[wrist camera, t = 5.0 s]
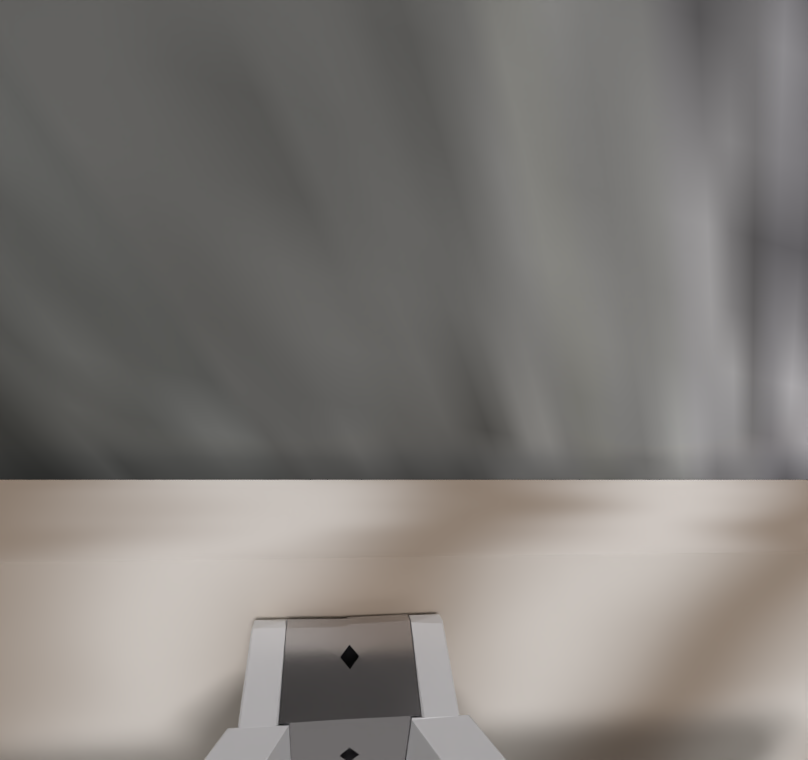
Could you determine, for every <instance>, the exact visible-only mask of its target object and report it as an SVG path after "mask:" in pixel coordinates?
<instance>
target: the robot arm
mask: <svg viewBox="0 0 808 760" xmlns="http://www.w3.org/2000/svg"><path fill="white" fill-rule="evenodd" d="M204 760H506V759H505V758H504V757H503V755H502V754H501V753H500V752H499V750H498V749H497V748H496V747H495V746H494V744H493V743H492V742H491V741H490V740H489V738H488V737H487V736H486V735H485V734H484V732H483V731H482V730H481V729H480V728H479V726H478V725H477V724H476V723H475V721H474V720H473V719H472V718H471V717H470V715H459V710H458V704H457V698H456V693H455V687H454V681H453V676H452V670H451V664H450V659H449V653H448V647H447V642H446V636H445V630H444V625H443V620H442V618H441V616H440V615H439V614H421V615H407V614H400V615H381V616H362V617H347V618H337V619H288V620H287V619H275V620H255V621H254V624H253V627H252V630H251V636H250V643H249V650H248V657H247V664H246V672H245V679H244V686H243V693H242V700H241V707H240V714H239V722H238V727H237V728H227V730H226V731H225V732H224V734H223V735H222V736H221V738H220V739H219V740H218V742H217V743H216V744H215V746H214V747H213V748H212V750H211V751H210V752H209V754H208V755H207V756H206V758H205V759H204Z"/></svg>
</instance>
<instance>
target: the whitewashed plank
mask: <svg viewBox="0 0 808 760" xmlns="http://www.w3.org/2000/svg"><path fill="white" fill-rule="evenodd" d="M400 614H407V615H421V614H439V615H440V616H441V618H442V620H443V625H444V630H445V636H446V642H447V647H448V653H449V659H450V664H451V670H452V676H453V681H454V687H455V693H456V698H457V704H458V710H459V715H470V717H471V718H472V719H473V720H474V721H475V723H476V724H477V725H478V726H479V728H480V729H481V730H482V731H483V732H484V734H485V735H486V736H487V737H488V738H489V740H490V741H491V742H492V743H493V744H494V746H495V747H496V748H497V749H498V750H499V752H500V753H501V754H502V755H503V757H504V758H505V759H506V760H808V480H0V760H204V759H205V758H206V756H207V755H208V754H209V752H210V751H211V750H212V748H213V747H214V746H215V744H216V743H217V742H218V740H219V739H220V738H221V736H222V735H223V734H224V732H225V731H226V730H227V728H237V727H238V722H239V714H240V707H241V700H242V693H243V686H244V679H245V672H246V664H247V657H248V650H249V643H250V636H251V630H252V627H253V624H254V621H255V620H275V619H287V620H288V619H337V618H347V617H362V616H381V615H400Z"/></svg>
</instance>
